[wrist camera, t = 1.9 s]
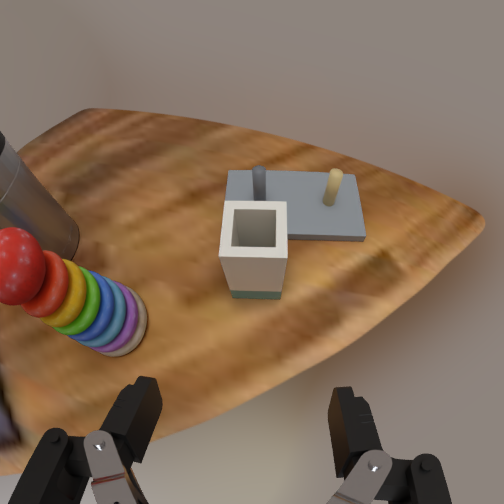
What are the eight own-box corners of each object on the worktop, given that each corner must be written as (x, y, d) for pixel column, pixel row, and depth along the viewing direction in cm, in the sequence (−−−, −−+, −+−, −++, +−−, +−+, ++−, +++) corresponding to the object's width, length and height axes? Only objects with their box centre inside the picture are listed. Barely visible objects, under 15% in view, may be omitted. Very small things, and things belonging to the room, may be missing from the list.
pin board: (222, 237, 32) (214, 206, 27) (229, 176, 36) (224, 141, 31) (363, 241, 32) (380, 211, 26) (352, 180, 36) (364, 147, 30)
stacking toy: (89, 292, 30) (-22, 204, 13) (148, 284, 30) (49, 173, 14) (88, 358, 27) (-48, 308, 10) (152, 355, 27) (20, 302, 10)
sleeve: (232, 297, 29) (218, 256, 20) (235, 255, 31) (224, 200, 22) (280, 299, 29) (287, 258, 20) (280, 256, 31) (286, 201, 22)
